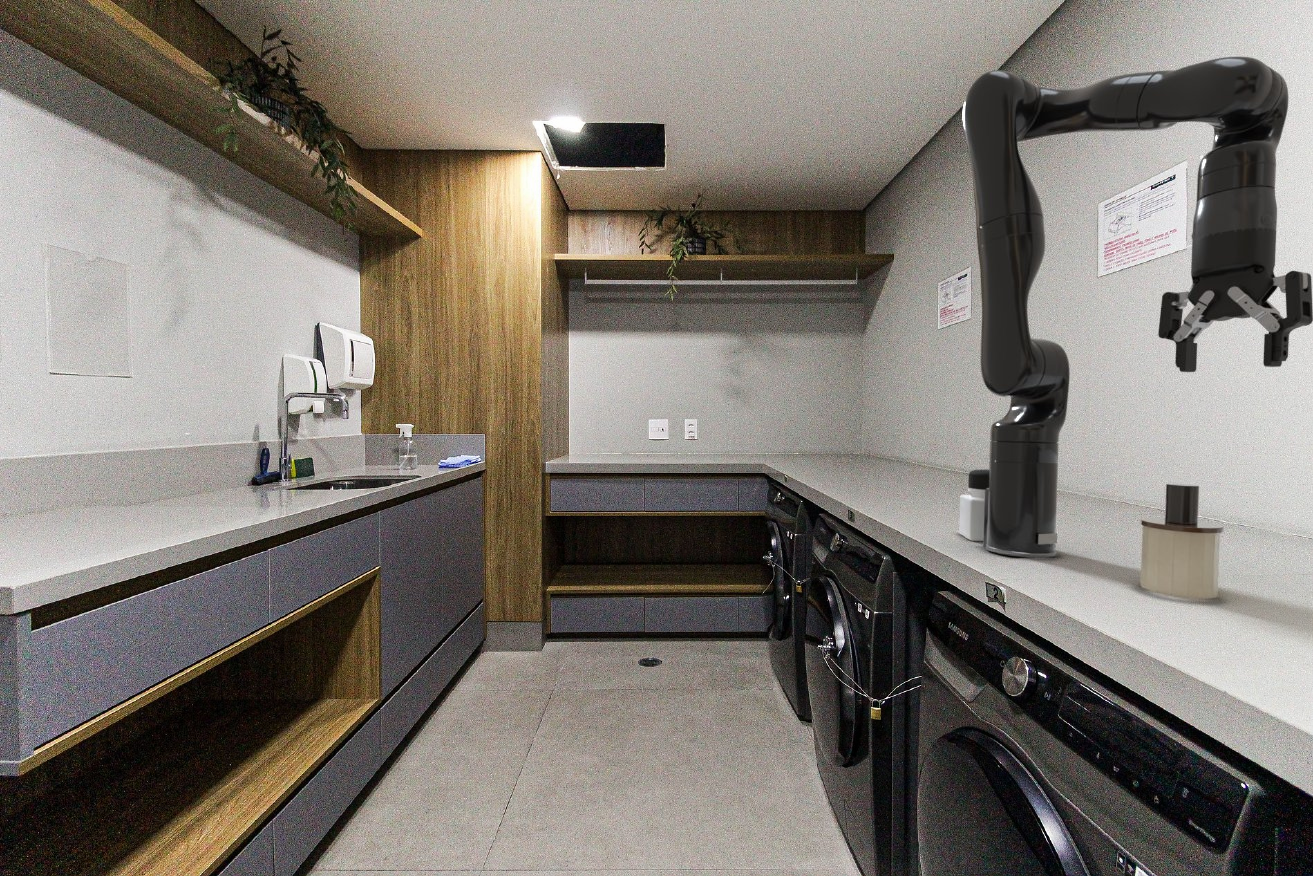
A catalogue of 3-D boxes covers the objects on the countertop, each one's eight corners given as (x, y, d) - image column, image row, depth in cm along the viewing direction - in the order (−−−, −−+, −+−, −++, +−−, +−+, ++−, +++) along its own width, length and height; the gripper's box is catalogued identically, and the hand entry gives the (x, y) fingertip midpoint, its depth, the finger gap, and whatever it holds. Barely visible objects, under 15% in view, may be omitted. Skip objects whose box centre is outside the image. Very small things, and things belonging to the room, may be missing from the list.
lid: (1124, 527, 78) (1125, 481, 78) (1177, 527, 79) (1178, 481, 79) (1184, 539, 71) (1186, 488, 70) (1242, 538, 72) (1244, 488, 72)
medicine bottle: (1015, 543, 107) (1017, 472, 106) (969, 541, 108) (971, 470, 108) (1001, 536, 114) (1003, 469, 113) (958, 533, 115) (960, 467, 115)
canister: (1125, 587, 78) (1127, 523, 78) (1174, 586, 79) (1176, 522, 79) (1180, 604, 71) (1183, 533, 71) (1233, 602, 72) (1236, 532, 72)
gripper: (1329, 221, 71) (1323, 366, 72) (1185, 252, 84) (1180, 374, 85) (1291, 212, 68) (1285, 363, 69) (1148, 246, 82) (1144, 372, 82)
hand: (1227, 369), depth 77 cm, fingers open, 8 cm apart
